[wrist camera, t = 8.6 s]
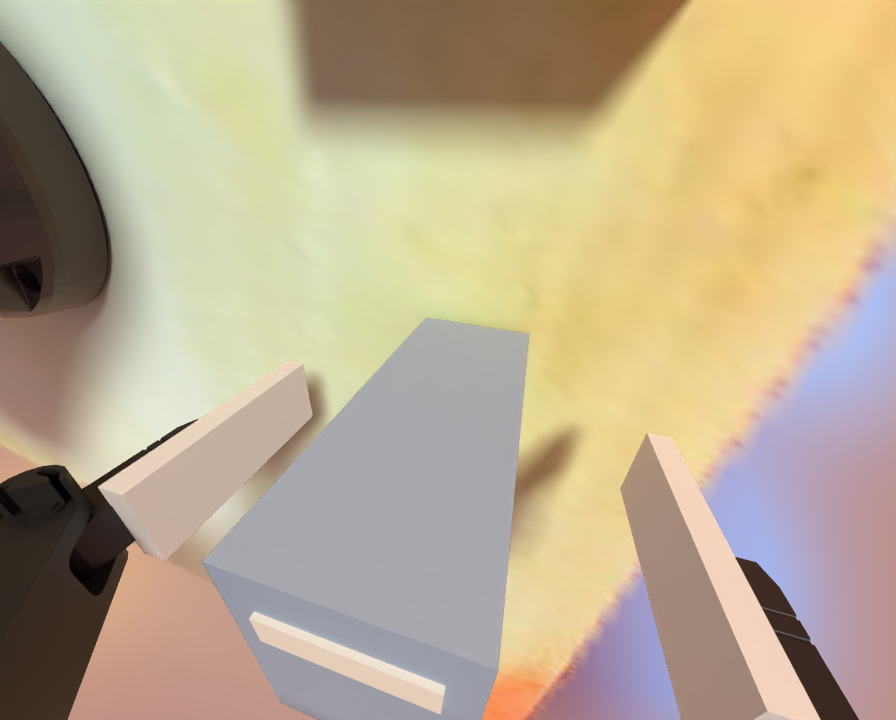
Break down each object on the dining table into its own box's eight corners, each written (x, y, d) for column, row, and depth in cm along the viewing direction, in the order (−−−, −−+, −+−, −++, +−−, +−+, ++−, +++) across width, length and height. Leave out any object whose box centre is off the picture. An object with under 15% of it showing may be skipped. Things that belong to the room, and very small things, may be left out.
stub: (423, 424, 17) (277, 708, 8) (426, 317, 14) (196, 568, 5) (507, 443, 16) (458, 790, 7) (529, 333, 13) (497, 680, 4)
